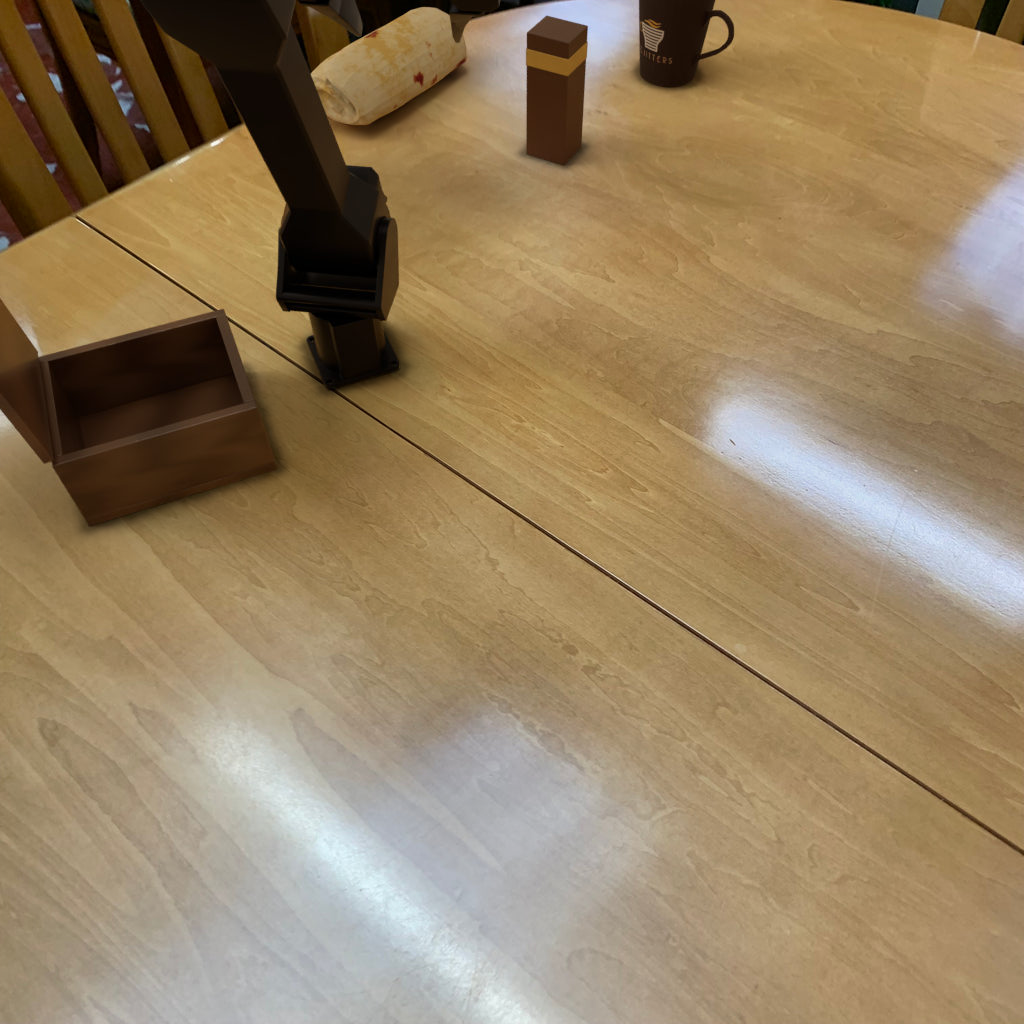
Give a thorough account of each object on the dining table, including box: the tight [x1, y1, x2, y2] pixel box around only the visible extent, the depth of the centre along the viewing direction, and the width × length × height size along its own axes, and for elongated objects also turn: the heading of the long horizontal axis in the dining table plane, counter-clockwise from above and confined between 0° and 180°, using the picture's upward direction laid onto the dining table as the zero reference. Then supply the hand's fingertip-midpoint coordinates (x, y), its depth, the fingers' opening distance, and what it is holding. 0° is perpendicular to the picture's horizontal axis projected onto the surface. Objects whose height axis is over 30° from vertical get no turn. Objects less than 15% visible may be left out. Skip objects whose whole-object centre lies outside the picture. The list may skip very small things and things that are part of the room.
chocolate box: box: [525, 15, 589, 166], centre depth 92 cm, size 4×5×12 cm
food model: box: [310, 6, 468, 126], centre depth 102 cm, size 10×7×20 cm
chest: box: [38, 308, 278, 527], centre depth 70 cm, size 14×12×7 cm
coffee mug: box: [638, 0, 735, 88], centre depth 102 cm, size 12×9×10 cm
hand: (408, 35), depth 85 cm, fingers open, 9 cm apart
